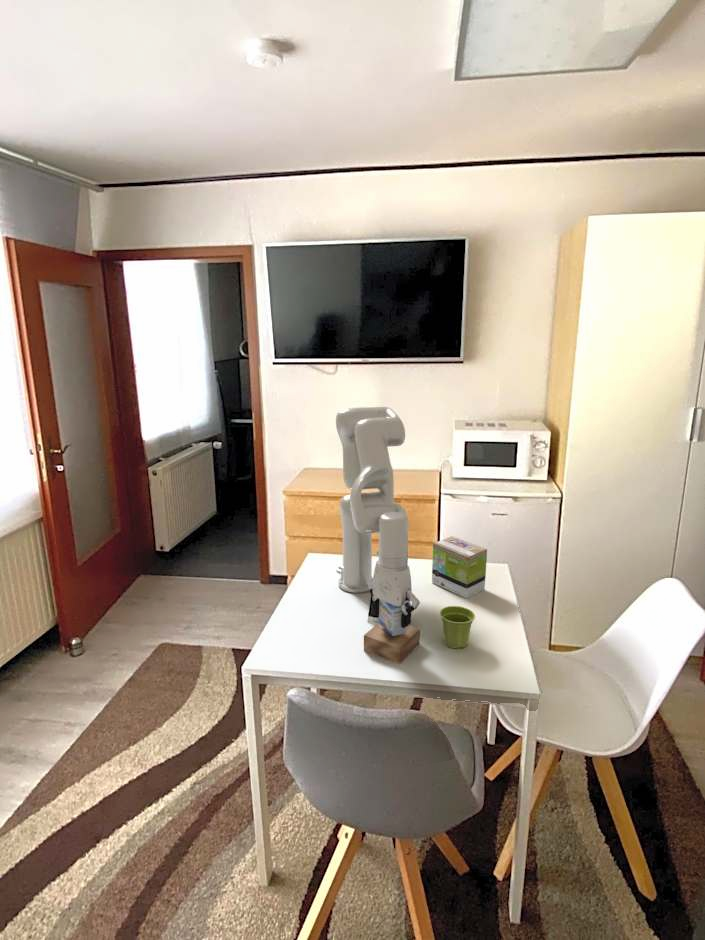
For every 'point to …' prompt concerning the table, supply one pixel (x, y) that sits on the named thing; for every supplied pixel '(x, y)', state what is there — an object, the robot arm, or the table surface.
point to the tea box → (459, 566)
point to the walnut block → (391, 643)
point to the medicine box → (391, 618)
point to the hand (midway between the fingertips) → (392, 619)
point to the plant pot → (456, 625)
